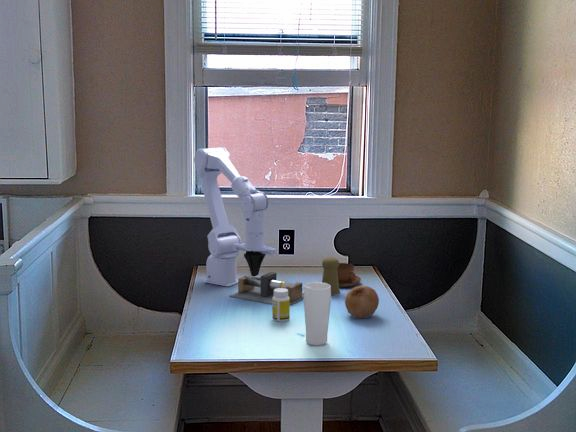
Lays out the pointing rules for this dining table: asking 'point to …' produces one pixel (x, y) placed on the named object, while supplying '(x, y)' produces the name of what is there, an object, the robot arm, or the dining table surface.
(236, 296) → the mat
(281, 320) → the supplement bottle
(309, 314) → the drinking glass
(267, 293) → the dark grey upright slab
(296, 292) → the rod holder
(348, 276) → the cup and saucer
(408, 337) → the dining table surface
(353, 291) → the onion
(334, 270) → the cork
